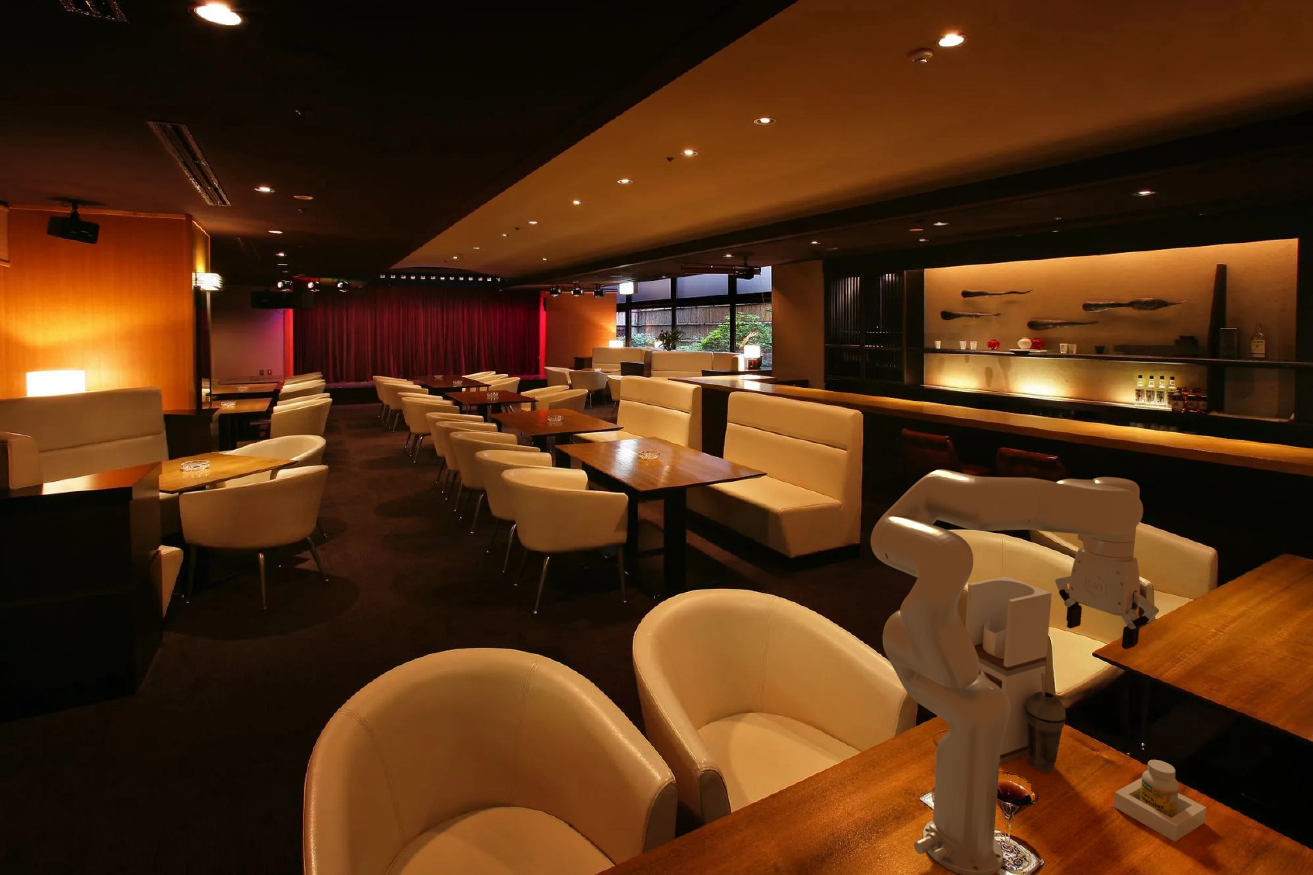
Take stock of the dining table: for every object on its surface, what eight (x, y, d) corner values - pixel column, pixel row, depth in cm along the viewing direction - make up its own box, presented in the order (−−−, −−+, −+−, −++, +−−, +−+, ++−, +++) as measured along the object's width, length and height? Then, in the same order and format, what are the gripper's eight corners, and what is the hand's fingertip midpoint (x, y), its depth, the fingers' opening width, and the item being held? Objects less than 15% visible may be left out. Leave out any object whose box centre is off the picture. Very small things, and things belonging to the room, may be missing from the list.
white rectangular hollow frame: (1174, 841, 116) (1176, 826, 115) (1113, 806, 125) (1115, 791, 124) (1204, 822, 120) (1206, 807, 120) (1143, 789, 129) (1145, 775, 129)
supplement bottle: (1182, 819, 121) (1187, 770, 120) (1164, 828, 119) (1169, 779, 118) (1149, 800, 126) (1154, 754, 125) (1132, 809, 124) (1137, 761, 122)
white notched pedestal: (996, 724, 151) (1006, 576, 146) (1038, 750, 142) (1051, 592, 137) (958, 736, 147) (968, 583, 142) (1000, 763, 137) (1012, 601, 132)
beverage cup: (1069, 776, 133) (1077, 682, 130) (1032, 776, 133) (1040, 682, 131) (1049, 754, 140) (1056, 664, 138) (1014, 753, 141) (1020, 664, 138)
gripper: (1048, 537, 126) (1041, 623, 129) (1150, 563, 111) (1140, 660, 113) (1072, 531, 129) (1065, 615, 132) (1174, 556, 114) (1164, 651, 117)
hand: (1100, 636), depth 123 cm, fingers open, 9 cm apart
